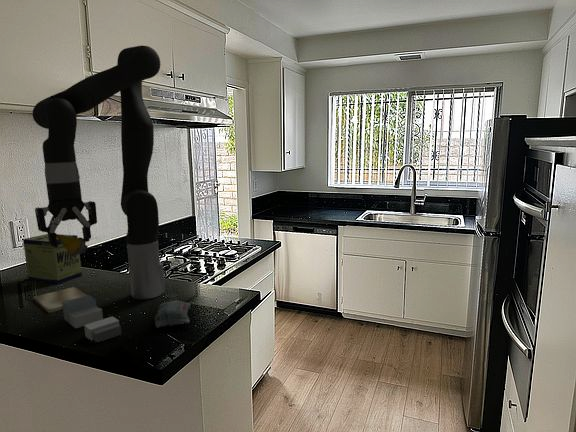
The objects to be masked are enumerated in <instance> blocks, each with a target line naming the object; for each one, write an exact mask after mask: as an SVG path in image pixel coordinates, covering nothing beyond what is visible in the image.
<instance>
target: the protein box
mask: <svg viewBox="0 0 576 432" xmlns="http://www.w3.org/2000/svg"><path fill="white" fill-rule="evenodd" d="M60 235H62V234H60ZM63 235H64V236H70V237H75V238H79V236H78V234H63ZM22 242H23V249H24V257H25V264H26V272H27V280H28V281H30V280H32V281H31V282H38V281H39V282H40V283H45V282H46V284H52V283H53V284H54V285H59V284H63V283H65V282H68V281H71V280H73V279H77V278H79V277H82V276H83V273H82V263H81V256H80V254H78V255H77V256H74V257H72V256H70V255H68V254H67V250H66V249H65V247H64V246H63V245H62V243H61V242H60V241H59V239H58V238H57V243H58V247H56V248H54V247H53V246H51V245H50V244H49V238H48V233H45V234H42V235H41V234H40V235H37V236H32V237H28V238H23V240H22Z"/></svg>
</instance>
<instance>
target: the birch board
mask: <svg viewBox="0 0 576 432" xmlns="http://www.w3.org/2000/svg"><path fill="white" fill-rule="evenodd" d="M83 296H87V294H86V293H84V292H83V291H81V290H80V289H78V288H77V287H75V286H72V287H68V288H64V289H60V290H56V291H55V290H54V291H52V292H47V293H44V294H40V295H36V296H33V301H34V302H36V303H37V305H39V306H40V307H41V308H43V310H44V311H46V312H47V313H49V314H50V313H54V312H57V311H61V310H63V304H62V302H64V301H68V300H72V299H76V298H79V297H83Z"/></svg>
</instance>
